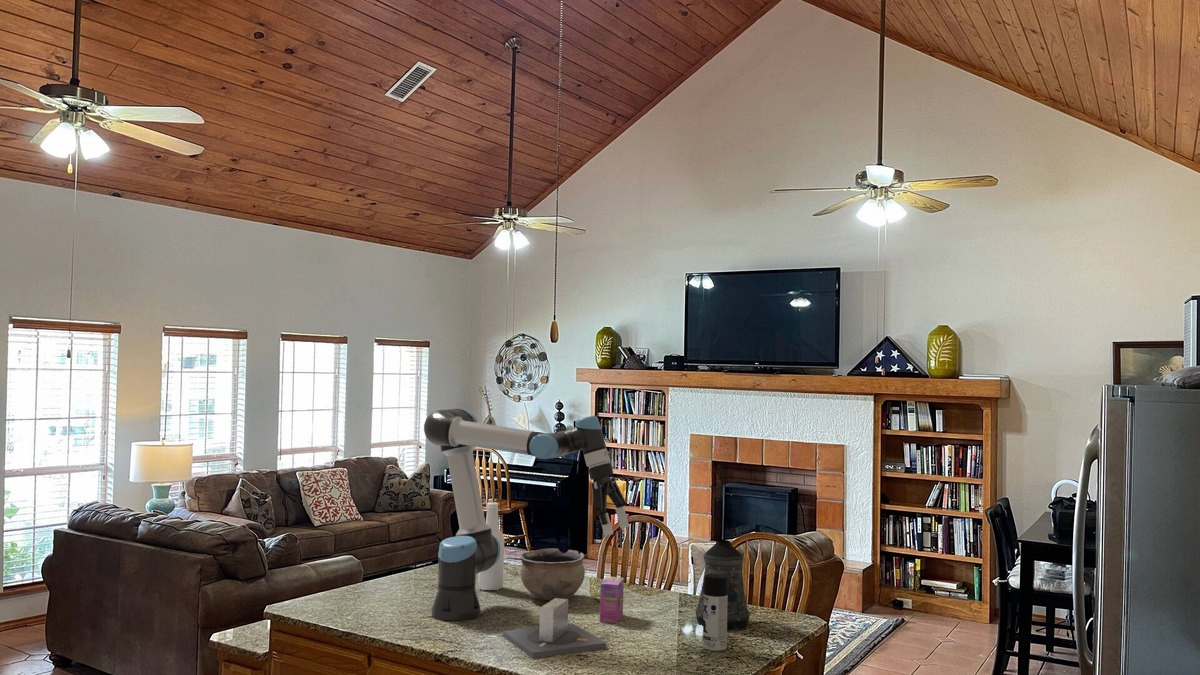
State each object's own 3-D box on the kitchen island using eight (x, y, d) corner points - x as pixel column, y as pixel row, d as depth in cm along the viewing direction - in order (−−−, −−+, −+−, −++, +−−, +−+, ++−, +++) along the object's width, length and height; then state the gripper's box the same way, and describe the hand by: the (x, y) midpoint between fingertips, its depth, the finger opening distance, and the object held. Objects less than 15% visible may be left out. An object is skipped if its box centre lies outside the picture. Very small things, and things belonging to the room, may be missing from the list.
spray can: (700, 644, 250) (701, 573, 251) (724, 644, 250) (725, 573, 252) (705, 652, 243) (706, 578, 244) (729, 651, 244) (730, 578, 245)
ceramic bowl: (596, 597, 303) (597, 553, 304) (560, 610, 285) (561, 563, 285) (544, 588, 315) (545, 545, 316) (506, 600, 296) (507, 555, 297)
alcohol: (478, 585, 317) (480, 501, 318) (502, 585, 318) (505, 501, 319) (477, 591, 308) (479, 504, 310) (503, 591, 309) (505, 504, 310)
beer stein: (713, 633, 262) (714, 547, 263) (681, 616, 280) (682, 536, 281) (760, 627, 269) (761, 544, 270) (726, 612, 286) (727, 534, 288)
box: (617, 623, 270) (618, 584, 271) (599, 622, 272) (600, 583, 272) (623, 615, 281) (624, 577, 281) (605, 613, 282) (606, 576, 282)
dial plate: (502, 636, 254) (503, 630, 255) (572, 628, 264) (572, 622, 264) (532, 658, 235) (532, 651, 235) (606, 648, 245) (606, 642, 245)
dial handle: (554, 629, 256) (555, 596, 257) (567, 631, 255) (568, 597, 255) (539, 640, 245) (539, 605, 245) (552, 642, 243) (553, 607, 244)
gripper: (594, 465, 266) (613, 535, 262) (623, 458, 289) (641, 522, 285) (572, 472, 268) (590, 541, 265) (603, 464, 291) (620, 527, 288)
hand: (617, 531), depth 275 cm, fingers open, 13 cm apart
